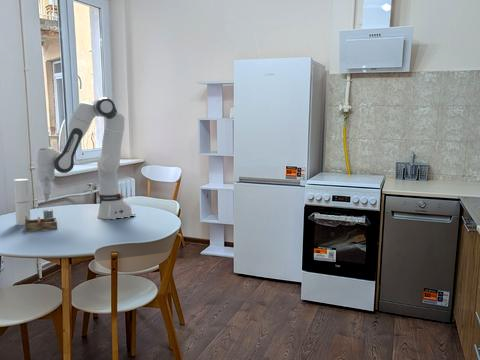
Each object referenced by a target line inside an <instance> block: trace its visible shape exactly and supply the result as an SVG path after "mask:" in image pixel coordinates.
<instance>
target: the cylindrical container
mask: <svg viewBox="0 0 480 360" xmlns="http://www.w3.org/2000/svg"><path fill="white" fill-rule="evenodd" d="M13 188H14V189H13V190H14V206H15V207H14V208H15V224H16V225H17V226H25V216H28V220H31V206H30V186H29V179H28V178H16V179H13Z"/></svg>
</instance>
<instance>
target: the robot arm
mask: <svg viewBox="0 0 480 360" xmlns="http://www.w3.org/2000/svg"><path fill="white" fill-rule="evenodd" d="M95 117H101V118H104V120H105V125H104V131H103V135H102V136H103V137H102V141H101V142H102V145H101V154H99V156H98V157H97V160H96V161H97V162H96V163H97V164H96V165H97V172H98V173H97V174H98V182H99V183H98V186H99V187H98V189H99V194H98V204H99V206H98V213H97V218H98V219H104V220H110V219H113V220H117V219H116V218H121V219H125V218H124V217H128V218H130V217H129V216H134V215H133V214H135V215H136V212H134V211H133V210H132V207H131V205H130V204H129V203H128V202H127V201H125V200H124V197H125V196H124V195H123V194H121V193H120V192H119V179H118V178H119V177H118V173H117V172H118V169H119V167H120V163H121V154H122V153H121V152H122V151H121V149H122V143H123V138H124V137H123V136H124V131H125V117H124V115H123V114H122V113H120V112H118V110H117V107H116V105H115V103H114V101H113V100H112V99H111V98H109V97H100V98H97V99H96V100H94V101H93V102H91V103H90V102H87V101H82V102H80V103H79V104H78V105H77V107H76V108H75V109H74V112H73V113H72V115H71V117H70V121H69V123H68V137H67V140H66V143H65V145H64V148H63V150H62V152H61V151H59V150H57V149H55V148H54V147H51V146H49V147H48V146H47V147H42V148H39V150H37V156H36V157H37V158H36V159H37V162H36V163H37V171H36V172H37V180H39V182H40V184H41V188H42V194H43V195H44V202H45V203H46V202H49V201H50V200H49V196H50V195H51V183H52V182H53V180H54V179H55V171H57V172H58V173H61V174H67V173H69V172H71V171H72V170H73V168H74V166H75V161H74V159H75V155H76V152H77V150H78V147H79V146H80V143H81V141H82V140H83V138H84V137H85V135H86V134H87V132H88V130H89V129H90V127H91V124H92V122H93V120H94V118H95ZM134 217H135V216H134Z"/></svg>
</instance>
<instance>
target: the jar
mask: <svg viewBox="0 0 480 360" xmlns="http://www.w3.org/2000/svg"><path fill="white" fill-rule="evenodd" d="M47 218H54V209H44V210H43V219H47Z"/></svg>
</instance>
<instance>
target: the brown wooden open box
mask: <svg viewBox="0 0 480 360" xmlns="http://www.w3.org/2000/svg"><path fill="white" fill-rule="evenodd" d="M24 226H25V232H26V233H31V232H41V231H43V232H44V231H52V230H58V221H57V217H53V218H47V219H44V218H40V223H38V218H37V219H30V220H28V216H25V225H24Z"/></svg>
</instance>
